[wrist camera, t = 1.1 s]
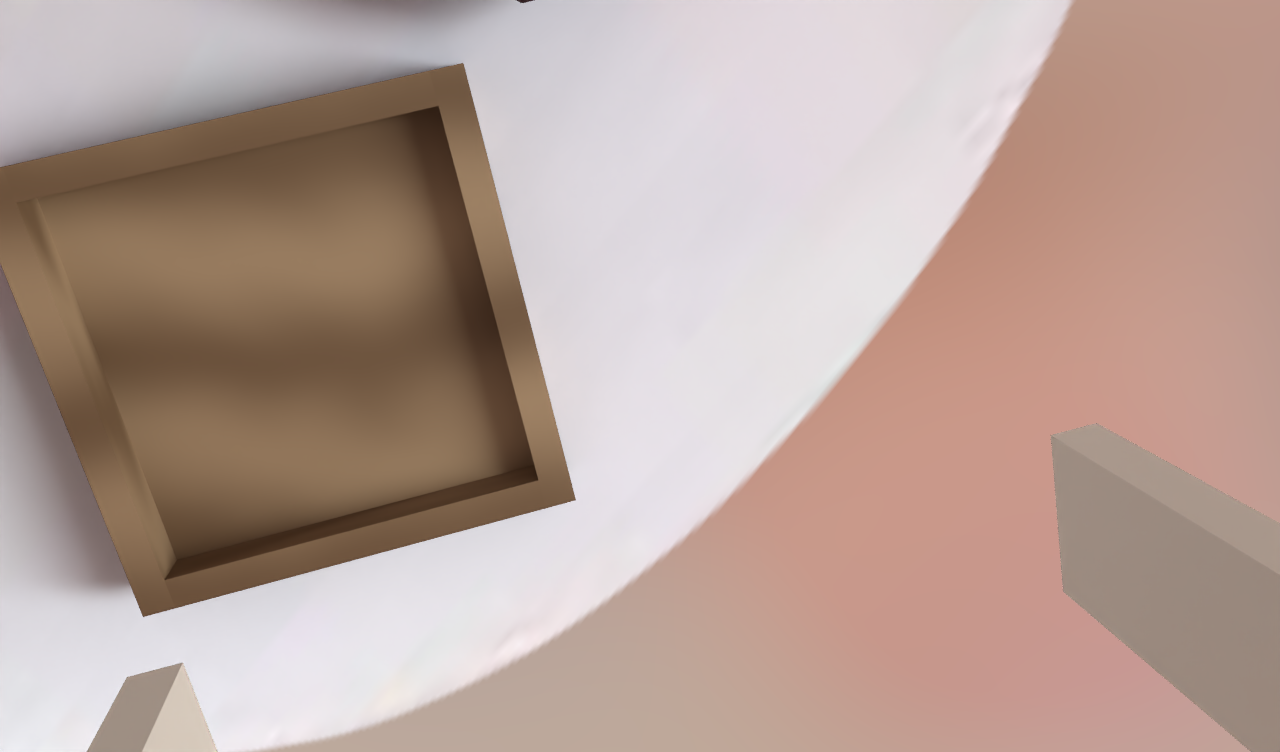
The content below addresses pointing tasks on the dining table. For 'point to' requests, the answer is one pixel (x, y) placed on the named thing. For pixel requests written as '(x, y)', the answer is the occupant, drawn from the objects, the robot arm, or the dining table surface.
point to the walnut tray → (285, 335)
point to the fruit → (524, 1)
